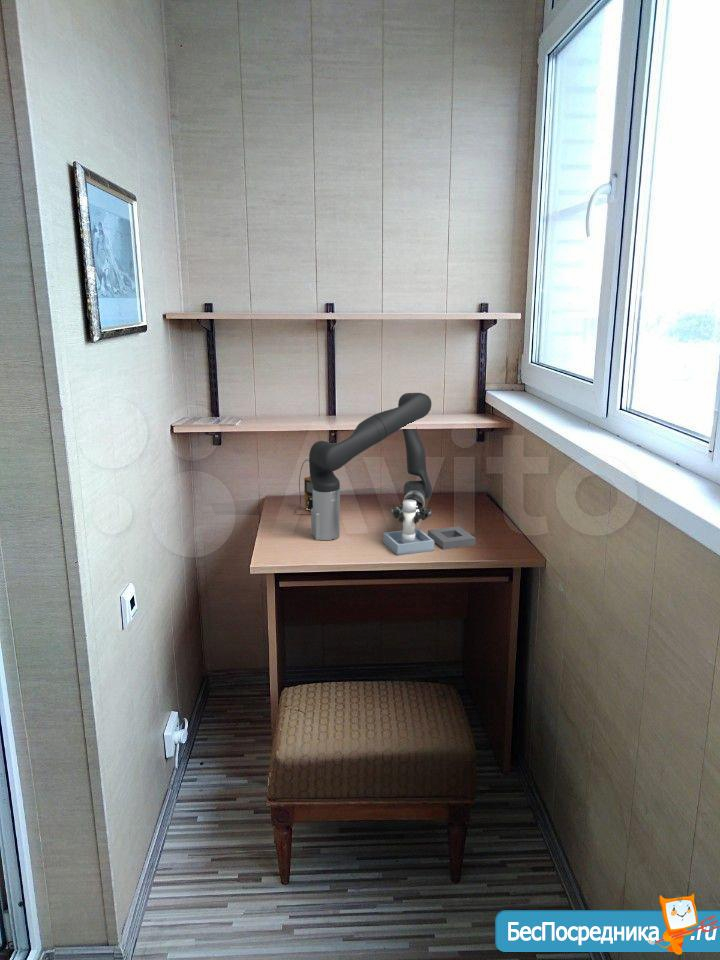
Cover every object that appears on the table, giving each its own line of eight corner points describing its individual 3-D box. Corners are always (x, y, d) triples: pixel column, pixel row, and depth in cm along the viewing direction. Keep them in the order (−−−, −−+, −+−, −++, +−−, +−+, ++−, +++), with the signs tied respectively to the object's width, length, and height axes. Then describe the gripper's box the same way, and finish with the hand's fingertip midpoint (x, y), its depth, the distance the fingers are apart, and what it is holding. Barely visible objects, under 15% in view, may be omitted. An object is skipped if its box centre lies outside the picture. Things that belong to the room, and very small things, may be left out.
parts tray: (397, 555, 218) (397, 545, 217) (383, 542, 229) (383, 532, 228) (433, 550, 222) (434, 540, 221) (418, 538, 233) (418, 528, 232)
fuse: (405, 544, 222) (406, 504, 218) (399, 539, 226) (400, 500, 222) (417, 542, 224) (418, 502, 220) (411, 538, 228) (413, 498, 224)
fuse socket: (443, 549, 223) (443, 542, 223) (427, 536, 234) (427, 530, 233) (475, 544, 227) (475, 537, 227) (458, 532, 238) (458, 526, 237)
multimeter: (284, 512, 258) (282, 461, 252) (303, 506, 265) (302, 456, 259) (310, 521, 248) (309, 469, 243) (329, 515, 255) (329, 463, 250)
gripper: (393, 492, 236) (387, 508, 220) (434, 494, 234) (430, 510, 218) (393, 512, 238) (386, 529, 222) (433, 515, 236) (429, 532, 220)
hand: (408, 520), depth 220 cm, fingers closed on fuse, 4 cm apart
